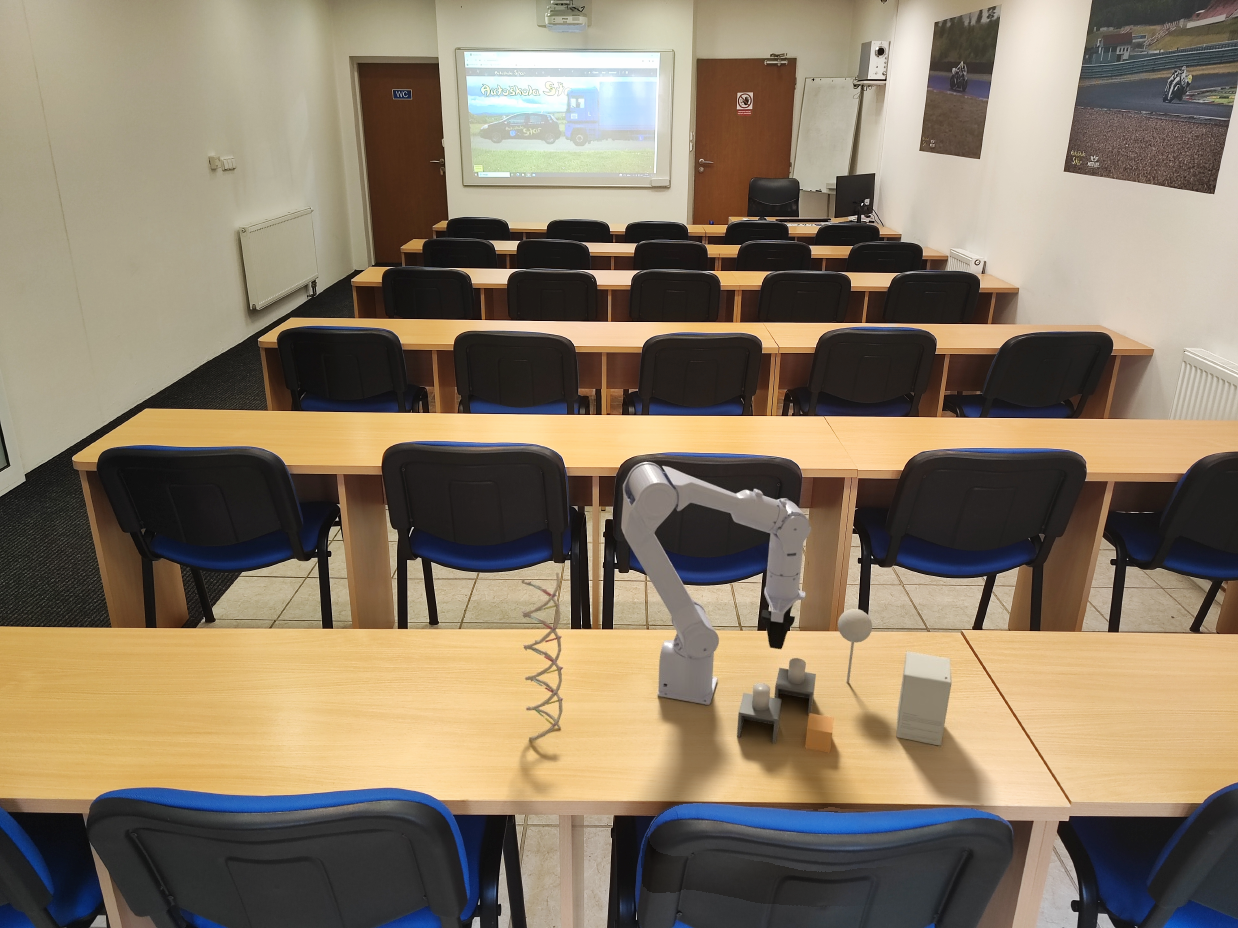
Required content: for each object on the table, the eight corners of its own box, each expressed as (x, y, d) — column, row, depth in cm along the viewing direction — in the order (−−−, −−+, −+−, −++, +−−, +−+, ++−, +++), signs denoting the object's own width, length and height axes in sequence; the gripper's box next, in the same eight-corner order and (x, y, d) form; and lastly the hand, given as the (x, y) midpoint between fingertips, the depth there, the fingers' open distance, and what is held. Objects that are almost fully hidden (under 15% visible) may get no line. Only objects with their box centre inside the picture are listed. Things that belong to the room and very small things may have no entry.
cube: (805, 747, 145) (807, 728, 143) (807, 732, 148) (809, 713, 147) (829, 752, 144) (832, 732, 142) (831, 737, 147) (833, 717, 146)
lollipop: (865, 694, 158) (875, 622, 152) (831, 690, 159) (840, 618, 153) (863, 674, 164) (872, 604, 158) (831, 670, 165) (839, 600, 159)
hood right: (773, 709, 154) (776, 668, 151) (777, 690, 159) (780, 650, 156) (810, 716, 152) (815, 674, 149) (813, 697, 157) (817, 657, 154)
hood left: (736, 736, 147) (739, 694, 144) (741, 716, 152) (744, 675, 149) (775, 744, 145) (779, 701, 142) (779, 723, 150) (783, 681, 147)
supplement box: (941, 720, 152) (952, 657, 147) (941, 747, 145) (952, 683, 140) (896, 710, 154) (906, 649, 149) (894, 737, 147) (904, 673, 143)
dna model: (534, 751, 143) (528, 590, 132) (519, 728, 149) (513, 571, 137) (571, 739, 146) (569, 580, 135) (556, 717, 151) (552, 562, 140)
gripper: (803, 592, 146) (797, 661, 151) (810, 553, 159) (804, 618, 164) (761, 586, 148) (755, 655, 153) (771, 548, 160) (766, 612, 166)
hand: (778, 635), depth 158 cm, fingers open, 7 cm apart
